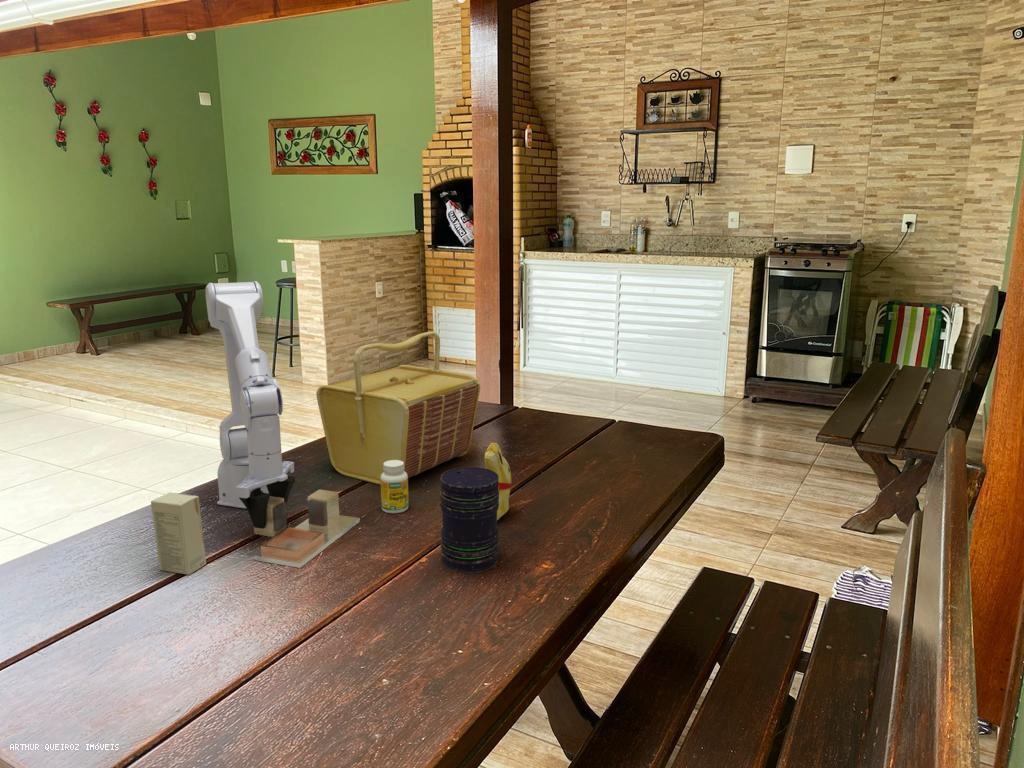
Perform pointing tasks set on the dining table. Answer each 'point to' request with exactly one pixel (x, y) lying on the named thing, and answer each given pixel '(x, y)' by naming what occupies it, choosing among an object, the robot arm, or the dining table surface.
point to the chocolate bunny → (502, 468)
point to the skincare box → (178, 533)
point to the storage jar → (469, 519)
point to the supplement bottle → (394, 487)
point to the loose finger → (274, 517)
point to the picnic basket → (398, 416)
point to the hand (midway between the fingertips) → (269, 521)
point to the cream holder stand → (308, 532)
